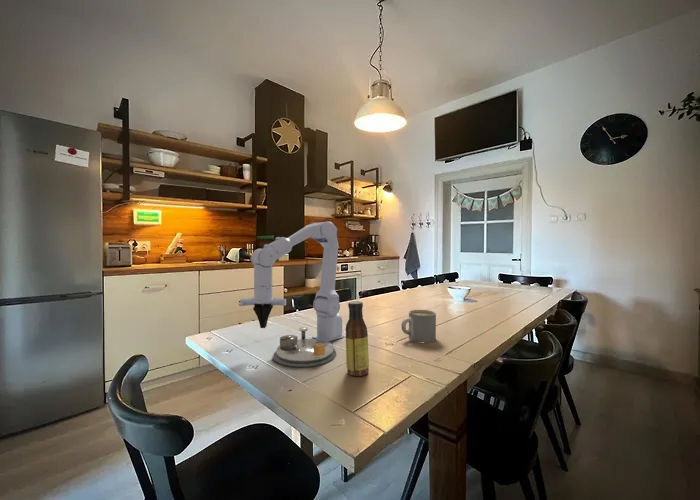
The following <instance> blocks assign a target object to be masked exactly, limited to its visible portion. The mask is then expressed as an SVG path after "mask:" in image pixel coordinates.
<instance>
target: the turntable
mask: <svg viewBox="0 0 700 500" xmlns="http://www.w3.org/2000/svg"><path fill="white" fill-rule="evenodd" d="M333 348H334V346H333V344H332V343H331V342H330V341H328V342H327V341H323V340H318V339H315V338H305V339H301V338H299V339H297V348H296V349H294V350H288V351H286V350H281V349H280V345H278V346H277V348H276V351H277V357H278V358H279V359H281V360H283V361H286V362H291V363H312V362H317V361H321V360H324V359H326V358H328V357H330V356H331V355H332V354H333Z"/></svg>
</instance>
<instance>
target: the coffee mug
mask: <svg viewBox="0 0 700 500" xmlns="http://www.w3.org/2000/svg"><path fill="white" fill-rule="evenodd" d="M407 324H408V329H406V328H407V327H406V326H407ZM401 331H402V332H403V333H404V334H405V335H408V339H409V340H410V341H411V342H414V341H416V342H415V343H419V342H431V343H434V342H436V340H437V332H436V331H437V312H435V311H432V310H429V309H413V310H409V311H408V317H406V318H404V319H403V320H402V322H401ZM433 341H434V342H433Z"/></svg>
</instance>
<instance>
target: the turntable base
mask: <svg viewBox="0 0 700 500" xmlns="http://www.w3.org/2000/svg"><path fill="white" fill-rule="evenodd" d="M336 356H337V351H336V349H335V348H334V347H333V354H332V355H331V356H330V357H328V358H326V359H324V360H321V361H317V362H312V363H291V362H286V361H283V360H281V359H279V358H278V357H277V350H276V351H275V352H274V353H273V361H274V362H275V363H277V364H278V365H281V366H283V367H284V366H285V367H289V368H296V369H297V368H305V369H306V368H314V367H319V366H322V365H326V364H328V363H331V362H332V361H334V360H335V358H336Z"/></svg>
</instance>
